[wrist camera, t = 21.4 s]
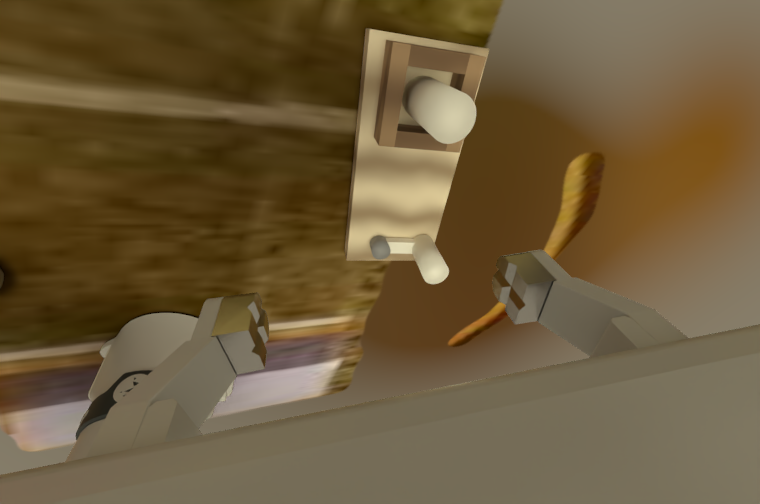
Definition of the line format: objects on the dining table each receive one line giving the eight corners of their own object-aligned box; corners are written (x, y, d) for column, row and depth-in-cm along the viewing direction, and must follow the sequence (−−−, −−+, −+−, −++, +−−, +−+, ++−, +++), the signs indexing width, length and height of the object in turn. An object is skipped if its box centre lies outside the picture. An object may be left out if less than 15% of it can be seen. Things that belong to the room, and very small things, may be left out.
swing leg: (368, 252, 43) (376, 284, 38) (371, 232, 41) (380, 263, 36) (429, 254, 45) (444, 284, 40) (434, 234, 44) (452, 263, 38)
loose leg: (426, 124, 35) (457, 151, 28) (394, 106, 33) (419, 130, 26) (447, 87, 33) (485, 106, 26) (415, 67, 31) (447, 81, 24)
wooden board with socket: (424, 250, 48) (436, 273, 44) (344, 250, 45) (348, 274, 41) (479, 47, 34) (504, 52, 29) (365, 28, 31) (375, 30, 26)
